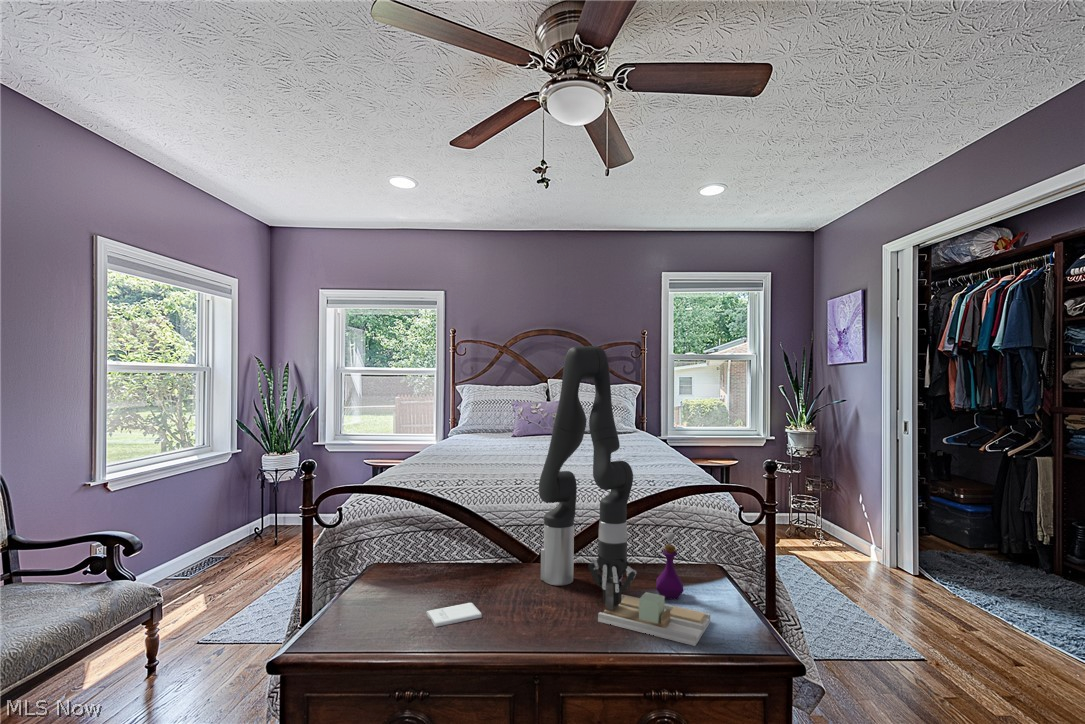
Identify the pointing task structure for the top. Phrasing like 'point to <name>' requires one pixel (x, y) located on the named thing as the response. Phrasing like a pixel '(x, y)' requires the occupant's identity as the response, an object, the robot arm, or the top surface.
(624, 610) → the tan slider with post
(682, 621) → the lane board
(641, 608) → the block
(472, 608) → the external hard drive
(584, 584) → the top surface
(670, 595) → the perfume bottle
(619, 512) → the robot arm
